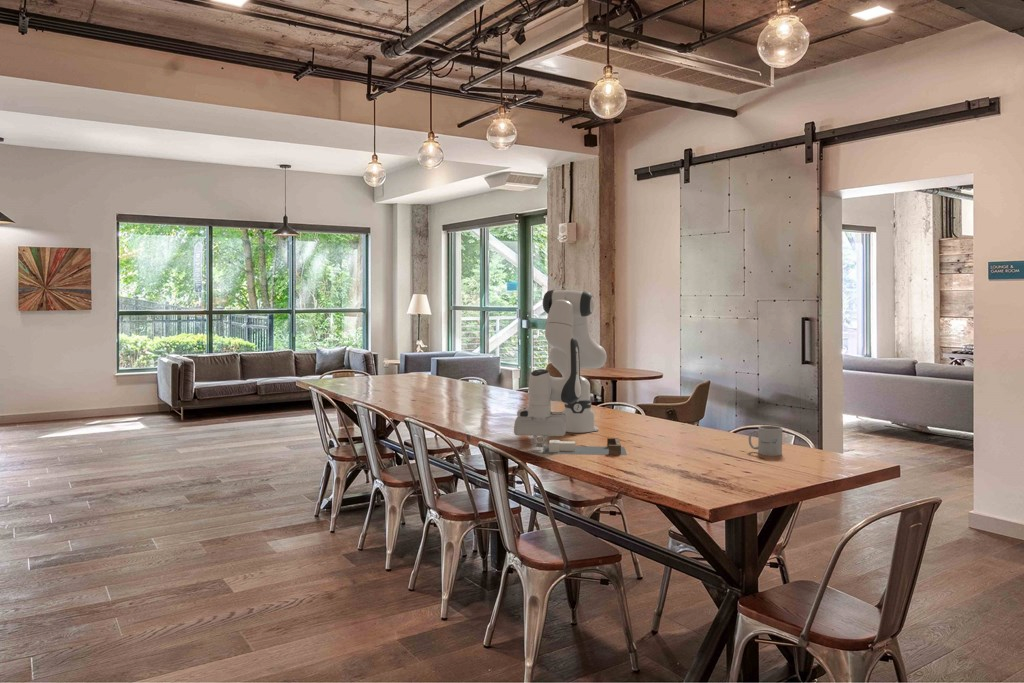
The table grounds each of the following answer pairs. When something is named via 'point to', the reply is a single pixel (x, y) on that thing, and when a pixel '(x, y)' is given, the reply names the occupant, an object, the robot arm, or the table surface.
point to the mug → (768, 440)
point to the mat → (585, 450)
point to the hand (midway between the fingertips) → (539, 446)
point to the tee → (561, 446)
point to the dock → (614, 446)
